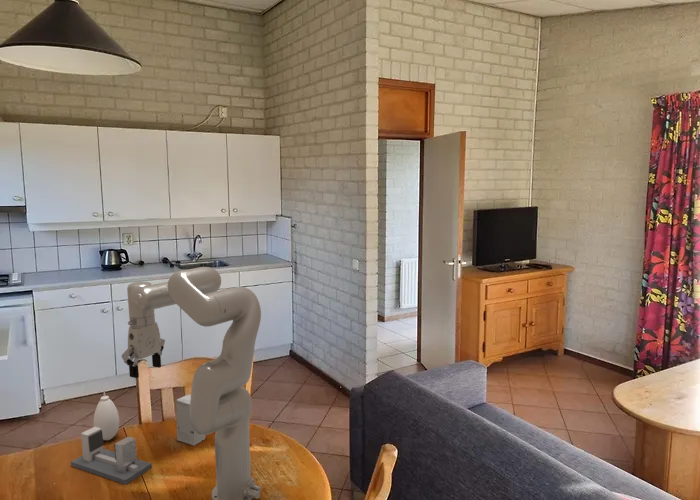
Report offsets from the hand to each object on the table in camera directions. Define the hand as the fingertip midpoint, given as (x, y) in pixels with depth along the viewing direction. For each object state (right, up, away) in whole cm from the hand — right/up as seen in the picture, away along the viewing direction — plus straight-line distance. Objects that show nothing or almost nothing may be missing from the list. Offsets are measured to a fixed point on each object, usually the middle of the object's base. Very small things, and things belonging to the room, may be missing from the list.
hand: (145, 371), depth 170 cm
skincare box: (+12, -26, +11) cm, 31 cm away
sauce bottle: (-18, -26, +12) cm, 34 cm away
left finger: (-2, -27, -9) cm, 29 cm away
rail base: (-9, -29, -6) cm, 30 cm away
